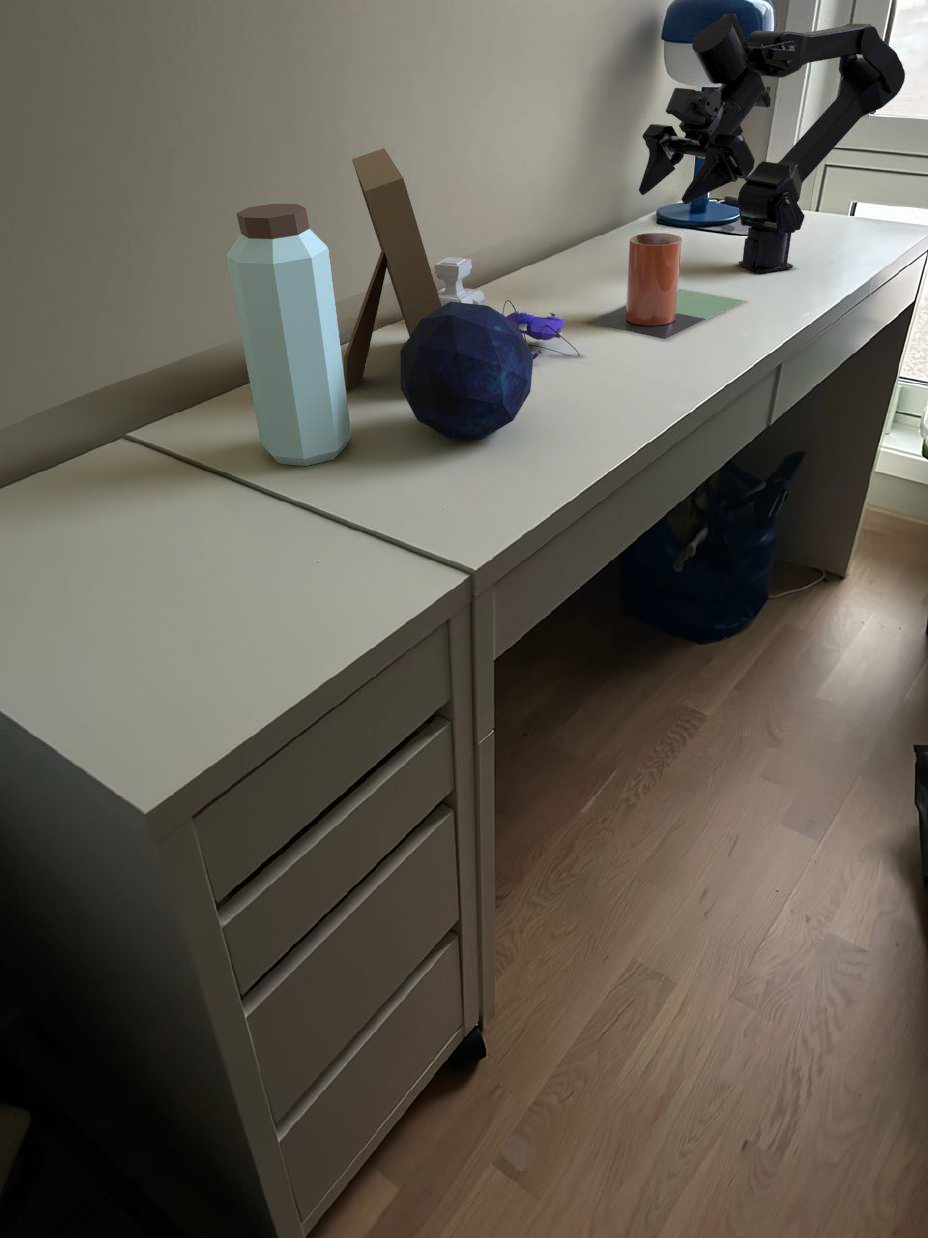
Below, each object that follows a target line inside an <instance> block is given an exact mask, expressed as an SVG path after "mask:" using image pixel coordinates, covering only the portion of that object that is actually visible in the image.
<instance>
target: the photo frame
mask: <svg viewBox="0 0 928 1238" xmlns="http://www.w3.org/2000/svg"><path fill="white" fill-rule="evenodd" d="M351 161H352V163H353V164H352V165H353V167H354V171H355V174H356V177H357V181H358V183H359V186H360V189H361V192H362V196H363V199H364V202H365V205H366V208H367V211H368V214H369V217H370V220H371V223H372V226H373V229H374V232H375V235H376V238H377V242H378V245H379V247H380V250H381V251H380V254H379V256H378V259H377V262H376V265H375V268H374V270H373V273H372V276H371V279H370V281H369V285H368V287H367V290H366V293H365V296H364V299H363V301H362V305H361V307H360V310H359V313H358V316H357V319H356V321H355V324H354V326H353V330H352V333H351V335H350V339H349V341H348V343H347V347H346V349H345V353H344V355H343V371H344V379H345V388H346V391H348V390H349V389H350V388H352V387H353V386H355V385H356V384H358V383H360V381H363V379H364V376H365V371H366V367H367V361H368V357H369V353H370V347H371V343H372V338H373V334H374V328H375V323H376V319H377V315H378V309H379V305H380V301H381V296H382V291H383V287H384V282H385V278H386V273H387V272H388V275H389V278H390V282H391V284H392V287H393V290H394V291H393V292H394V293H395V296H396V300H397V303H398V306H399V308H400V312H401V316H402V319H403V323H404V325H405V327H406V331H407V334H408V338H409V337H410V335H411V334H412V332H413V331H414V329H415V328H416V326H417V325H418V323H419V322H420V320H421V319H422V318H424V317H426V316H427V315H429V314H431V313H432V312H434V311H436V310H437V309H439V308H441V307H442V306H441V303H440V299H439V296H438V293H437V292H438V290H437V286H436V283H435V279H434V276H433V272H432V269H431V266H430V262H429V259H428V256H427V252H426V250H425V245H424V242H423V240H422V235H421V233H420V229H419V226H418V223H417V219H416V216H415V213H414V209H413V206H412V203H411V199H410V196H409V191H408V189H407V186H406V183H405V179H404V177H403V175H402V174H401V172H400V170H399V169H398V167H397V166H396V164H395V162H394V161H393V160H392V158H391V156H390V155H389V153H388V151H387V150H386V148H385V147H383V148H380V149H377V150H374V151H372V152H368V153H366V154H362V155H360V156H357V157H354V158H352V159H351Z"/></svg>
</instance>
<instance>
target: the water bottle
mask: <svg viewBox="0 0 928 1238" xmlns="http://www.w3.org/2000/svg"><path fill="white" fill-rule="evenodd" d="M236 218H237V222H238V226H239V227H238V228H239V231H240V234H239V236H238V237H237V238H236V240H235V241H234V243H233V244H232V246H231V248H230V249H229V250H228V252H227V253H226V261H227V266H228V272H229V276H230V282H231V287H232V288H231V289H232V292H233V298H234V302H235V303H234V304H235V309H236V315H237V319H238V326H239V331H240V332H239V333H240V336H241V337H240V338H241V342H242V348H243V354H244V359H245V364H246V369H247V374H248V380H249V386H250V391H251V397H252V403H253V407H254V414H255V418H256V419H255V420H256V423H257V424H256V425H257V429H258V435H259V440H260V444H261V445H262V446H263V448H264V449H265V450H266V451H267V452H268V453H269V455H270V456H271V457H272V458H273V459H274V460H275V461H276V462H277V463H278V464H280V465H289V466H290V465H291V466H300V467H309V466H312V465H316V464H320V463H325V462H329V461H332V460H334V459H336V458H337V457H338V456H339V455H340V453H342V452H343V450H344V449H345V448H346V447H347V445H348V443H349V442H350V440H351V438H352V429H351V421H350V414H349V405H348V397H347V396H348V395H347V390H346V388H345V379H344V362H343V357H342V348H341V339H340V332H339V325H338V316H337V308H336V299H335V292H334V283H333V276H332V275H333V273H332V268H331V260H330V252H329V250H330V249H329V247H328V245H326V244H325V243H324V241H322V240H321V239H320V238H319V236H317V234H315V232H313V230H312V229H310V223H309V218H308V211H307V208H306V207H304V206H303V205H300V204H298V203H269V204H262V205H255V206H249V207H246V208H244V209H242V210H240V211H237V212H236Z"/></svg>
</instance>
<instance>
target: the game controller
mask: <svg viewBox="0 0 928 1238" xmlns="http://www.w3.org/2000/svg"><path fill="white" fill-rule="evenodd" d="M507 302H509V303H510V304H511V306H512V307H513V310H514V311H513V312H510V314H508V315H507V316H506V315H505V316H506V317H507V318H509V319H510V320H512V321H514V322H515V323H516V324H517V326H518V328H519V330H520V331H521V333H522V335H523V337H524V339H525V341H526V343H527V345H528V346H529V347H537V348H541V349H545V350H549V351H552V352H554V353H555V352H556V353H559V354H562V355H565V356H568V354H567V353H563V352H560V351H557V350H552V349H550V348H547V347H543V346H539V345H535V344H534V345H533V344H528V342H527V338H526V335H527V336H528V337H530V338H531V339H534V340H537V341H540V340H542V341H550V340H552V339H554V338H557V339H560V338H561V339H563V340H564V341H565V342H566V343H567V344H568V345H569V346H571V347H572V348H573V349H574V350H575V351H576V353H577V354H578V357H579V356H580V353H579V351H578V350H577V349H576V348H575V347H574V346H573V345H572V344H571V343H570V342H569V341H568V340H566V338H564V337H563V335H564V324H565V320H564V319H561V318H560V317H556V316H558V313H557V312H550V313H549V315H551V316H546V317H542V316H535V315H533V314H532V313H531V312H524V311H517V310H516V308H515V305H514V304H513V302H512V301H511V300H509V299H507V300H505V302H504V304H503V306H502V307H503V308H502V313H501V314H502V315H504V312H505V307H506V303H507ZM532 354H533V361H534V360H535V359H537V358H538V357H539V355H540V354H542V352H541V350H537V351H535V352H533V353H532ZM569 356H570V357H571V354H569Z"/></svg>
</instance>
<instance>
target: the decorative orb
mask: <svg viewBox="0 0 928 1238" xmlns="http://www.w3.org/2000/svg"><path fill="white" fill-rule="evenodd" d="M502 314H503V313H501V312H499V311H498V310H497V309H495V308H493V307H491V306H490V305H486V304H481V305H478V304H469V303H460V302H449V303H447V304H445V305H444V306H442V307H441V308H439V309H437V310H436V311H434V312H432V313H431V314H429V315H427V316H426V317H424V318H422V319H421V320H420V322H419V323H418V325H417V326H416V328H415V329H414V331H413V332H412V334H411V335H410V337H409V336H408V339H407V340H406V341H405V343H404V345H403V346H402V348H401V349H400V351H399V352H400V353H399V388H400V390H401V393H402V394H403V396H404V398H405V400H406V402H407V404H408V407H409V408H410V410H411V412H412V413H413V415H414V417H415V419H416V421H417V422H419V423H421V424H423V425H424V426H426V427H428V428H430V429H432V430H433V431H434V432H437V433H438V434H440V435H442V436H444V437H445V438H447V439H448V440H449V439H453V440H455V439H456V440H479V441H480V440H483V439H485V438H487V437H488V436H490V435H492V434H493V433H495V432H496V431H498V430H500V429H501V428H503V427H505V426H507V425H509V424H510V423H512V422H513V421H514V420H515V419H516V417H517V415H518V413H519V412H520V410H521V409H522V407H523V405H524V403H525V402H526V400H527V398H528V397H529V395H530V394H531V389H532V378H533V367H534V360H533V354H534V353H533V352H532V350H531V348H530V346H528V345H529V344H528V342H526V341H527V340H526V341H525V338H524V334H522V333H521V331H520V330H519V328H518V326H517V324H516V323H515V322H514V321H512V320H510V319H509V318H507V317H506V315H504V314H503V315H502ZM527 344H528V345H527Z"/></svg>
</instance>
